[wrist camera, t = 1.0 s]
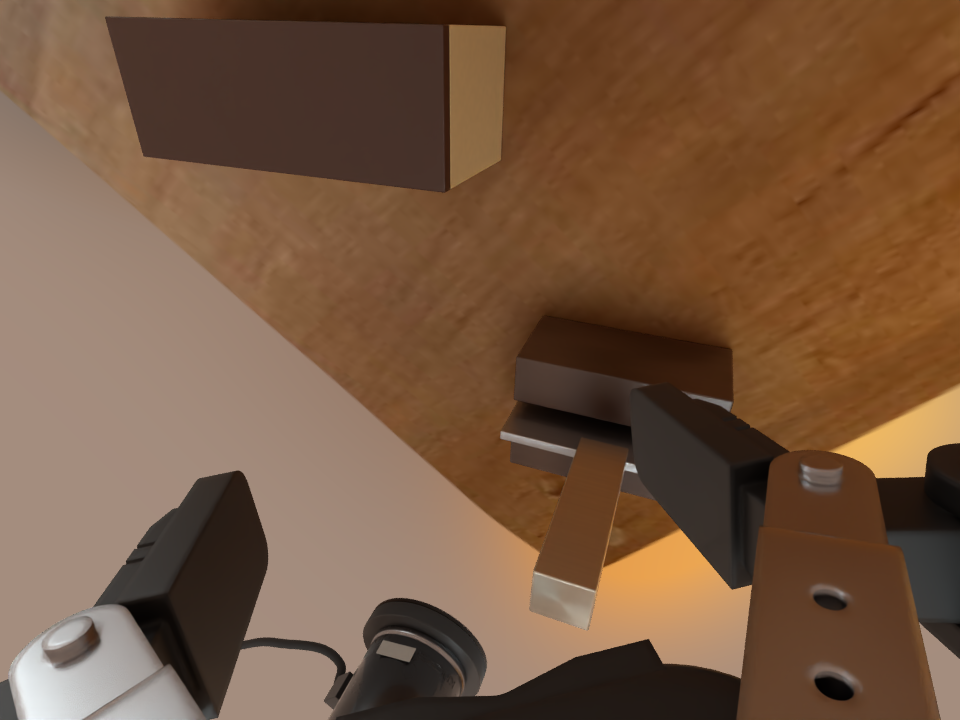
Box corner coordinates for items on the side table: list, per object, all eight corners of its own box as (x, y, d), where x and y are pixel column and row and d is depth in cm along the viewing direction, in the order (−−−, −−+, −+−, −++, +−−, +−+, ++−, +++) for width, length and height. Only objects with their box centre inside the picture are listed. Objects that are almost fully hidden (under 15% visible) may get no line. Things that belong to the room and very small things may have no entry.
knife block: (732, 349, 28) (734, 401, 24) (702, 452, 32) (699, 512, 28) (542, 314, 31) (516, 356, 27) (534, 412, 35) (509, 462, 31)
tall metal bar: (721, 386, 30) (719, 631, 18) (712, 420, 31) (703, 671, 19) (539, 350, 33) (430, 538, 20) (536, 381, 34) (431, 577, 22)
